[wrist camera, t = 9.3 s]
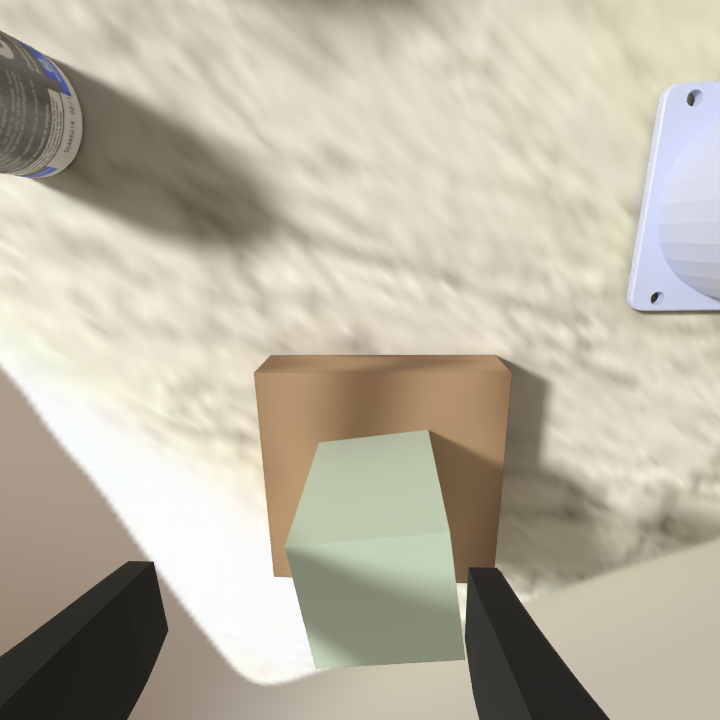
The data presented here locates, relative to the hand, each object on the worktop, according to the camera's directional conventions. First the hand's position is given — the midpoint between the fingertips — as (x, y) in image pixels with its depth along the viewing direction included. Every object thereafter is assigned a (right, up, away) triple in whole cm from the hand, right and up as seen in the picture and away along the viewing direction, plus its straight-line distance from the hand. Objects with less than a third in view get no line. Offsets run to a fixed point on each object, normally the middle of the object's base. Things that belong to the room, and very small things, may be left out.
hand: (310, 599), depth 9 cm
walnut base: (+2, +1, +10) cm, 11 cm away
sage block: (+2, 0, +8) cm, 8 cm away
